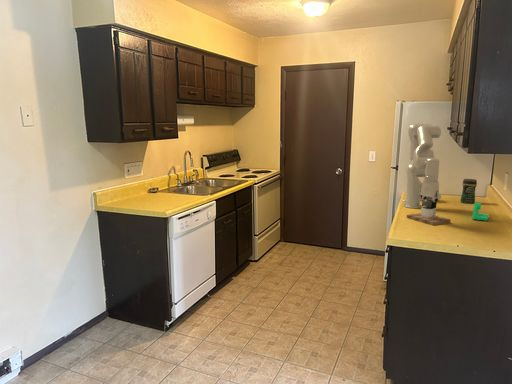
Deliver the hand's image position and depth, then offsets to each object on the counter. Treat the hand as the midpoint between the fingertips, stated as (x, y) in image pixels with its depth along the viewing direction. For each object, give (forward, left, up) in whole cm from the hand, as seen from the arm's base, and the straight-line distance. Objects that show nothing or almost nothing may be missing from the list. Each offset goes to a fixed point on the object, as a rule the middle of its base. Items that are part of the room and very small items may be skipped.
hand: (428, 206), depth 228 cm
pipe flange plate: (0, 0, -9) cm, 9 cm away
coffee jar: (-28, +72, -9) cm, 78 cm away
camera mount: (+11, +33, -9) cm, 36 cm away
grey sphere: (0, 0, -3) cm, 3 cm away
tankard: (-49, +47, -9) cm, 69 cm away
